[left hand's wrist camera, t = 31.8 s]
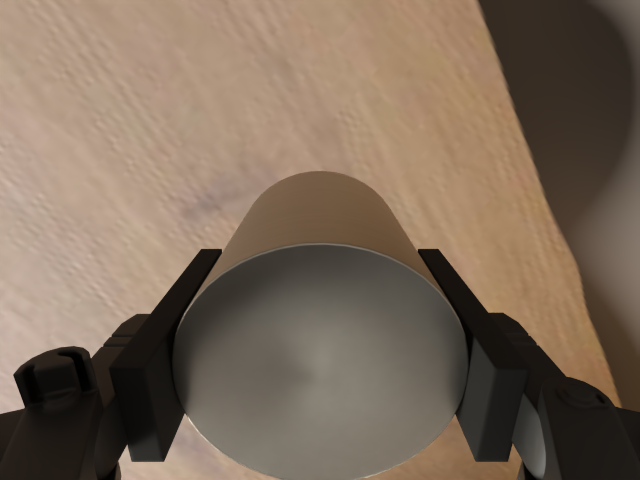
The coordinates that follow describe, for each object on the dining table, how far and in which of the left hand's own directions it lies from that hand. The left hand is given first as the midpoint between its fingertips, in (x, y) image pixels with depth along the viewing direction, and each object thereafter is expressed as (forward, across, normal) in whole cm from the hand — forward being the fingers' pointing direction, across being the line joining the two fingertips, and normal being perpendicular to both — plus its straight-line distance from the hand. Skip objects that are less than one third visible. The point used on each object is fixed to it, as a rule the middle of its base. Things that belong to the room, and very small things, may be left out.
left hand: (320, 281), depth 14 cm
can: (+3, 0, 0) cm, 3 cm away
